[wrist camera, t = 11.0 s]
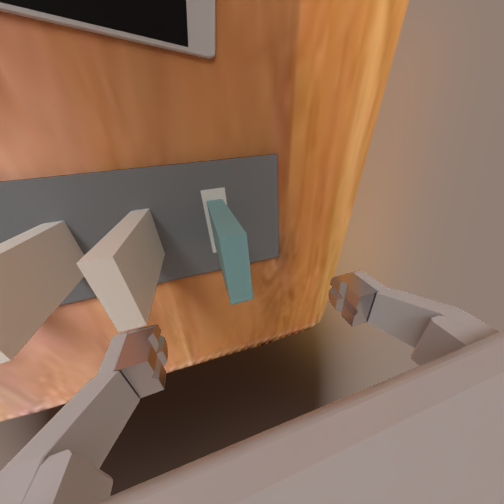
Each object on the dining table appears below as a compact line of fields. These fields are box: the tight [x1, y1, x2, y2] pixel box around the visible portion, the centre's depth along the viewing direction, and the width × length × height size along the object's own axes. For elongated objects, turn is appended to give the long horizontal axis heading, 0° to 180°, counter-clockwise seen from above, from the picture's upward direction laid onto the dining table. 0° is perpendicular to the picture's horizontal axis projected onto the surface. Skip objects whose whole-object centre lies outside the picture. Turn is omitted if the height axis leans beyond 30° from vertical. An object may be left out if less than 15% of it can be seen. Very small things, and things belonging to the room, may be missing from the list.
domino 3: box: [207, 199, 253, 305], centre depth 16 cm, size 2×5×10 cm, turn 5°
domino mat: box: [0, 154, 279, 305], centre depth 18 cm, size 12×42×1 cm, turn 95°
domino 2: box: [76, 208, 165, 332], centre depth 15 cm, size 2×5×10 cm, turn 5°
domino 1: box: [0, 221, 84, 363], centre depth 13 cm, size 2×5×10 cm, turn 5°
